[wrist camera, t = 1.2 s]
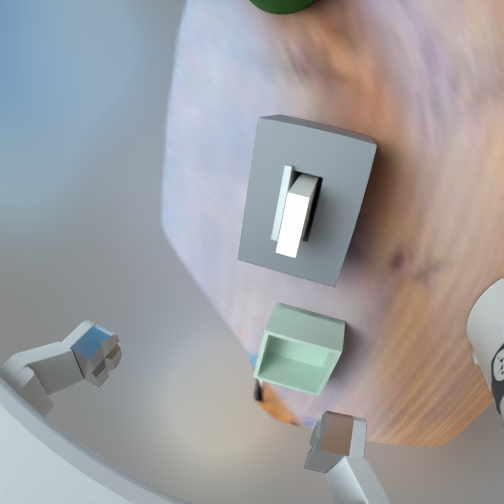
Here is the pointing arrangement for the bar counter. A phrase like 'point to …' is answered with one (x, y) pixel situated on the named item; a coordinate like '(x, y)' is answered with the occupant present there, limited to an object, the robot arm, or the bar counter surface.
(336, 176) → the block
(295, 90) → the bar counter surface
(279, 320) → the stub box
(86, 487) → the robot arm
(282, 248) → the pale bar
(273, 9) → the candle
